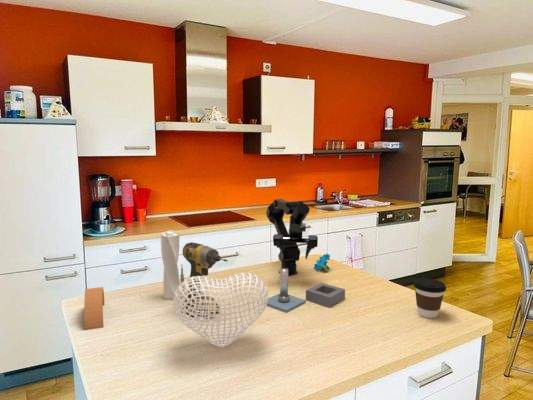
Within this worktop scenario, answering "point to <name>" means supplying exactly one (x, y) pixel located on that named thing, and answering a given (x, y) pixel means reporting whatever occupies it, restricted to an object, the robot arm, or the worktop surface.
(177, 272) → the skyscraper
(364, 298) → the worktop surface
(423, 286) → the coffee cup
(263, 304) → the heart
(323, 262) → the blue flower bunch
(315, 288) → the socket block
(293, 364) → the worktop surface
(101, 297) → the orange rectangular block
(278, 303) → the mat
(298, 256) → the robot arm
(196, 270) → the cordless drill
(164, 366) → the worktop surface
